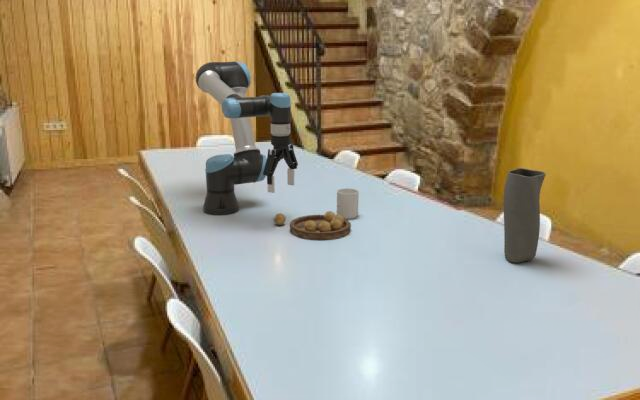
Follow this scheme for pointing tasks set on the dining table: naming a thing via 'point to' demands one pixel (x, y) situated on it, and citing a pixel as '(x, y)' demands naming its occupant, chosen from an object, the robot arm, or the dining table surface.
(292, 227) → the tray
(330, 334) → the dining table surface
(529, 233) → the vase
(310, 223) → the seated beads
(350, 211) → the mug
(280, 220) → the bead
